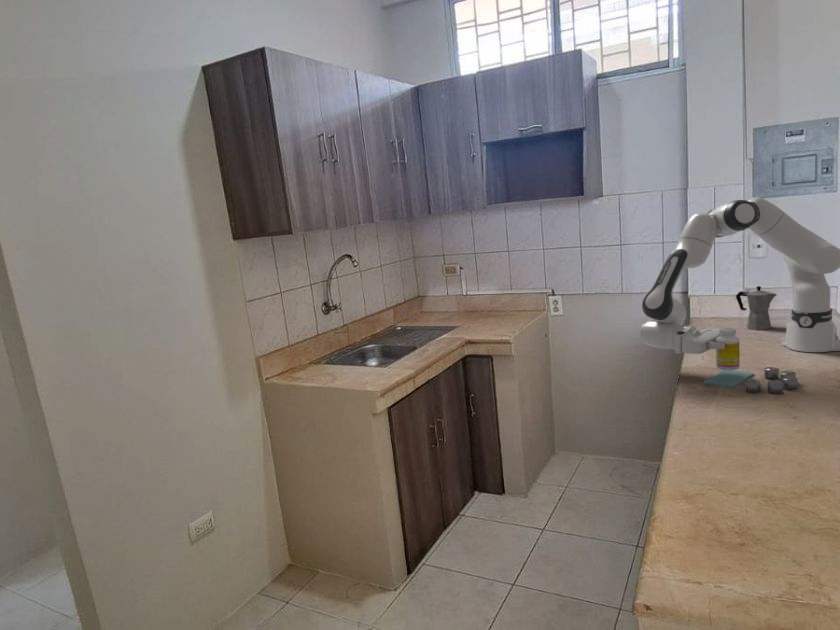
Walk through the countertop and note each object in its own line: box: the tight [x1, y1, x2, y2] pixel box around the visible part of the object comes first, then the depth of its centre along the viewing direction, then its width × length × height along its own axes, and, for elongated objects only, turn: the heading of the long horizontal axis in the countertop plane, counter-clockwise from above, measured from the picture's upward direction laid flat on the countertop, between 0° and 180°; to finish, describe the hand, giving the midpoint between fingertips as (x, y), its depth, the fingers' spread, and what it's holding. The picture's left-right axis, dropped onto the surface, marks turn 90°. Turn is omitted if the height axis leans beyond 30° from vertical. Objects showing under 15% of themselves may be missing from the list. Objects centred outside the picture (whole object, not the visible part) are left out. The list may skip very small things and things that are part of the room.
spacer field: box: [744, 366, 799, 395], centre depth 172 cm, size 19×12×3 cm, turn 130°
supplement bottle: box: [715, 327, 741, 371], centre depth 182 cm, size 7×7×13 cm
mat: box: [703, 370, 755, 389], centre depth 183 cm, size 16×9×1 cm, turn 130°
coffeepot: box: [735, 285, 778, 331], centre depth 240 cm, size 15×9×18 cm, turn 44°
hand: (730, 343), depth 180 cm, fingers closed on supplement bottle, 7 cm apart
